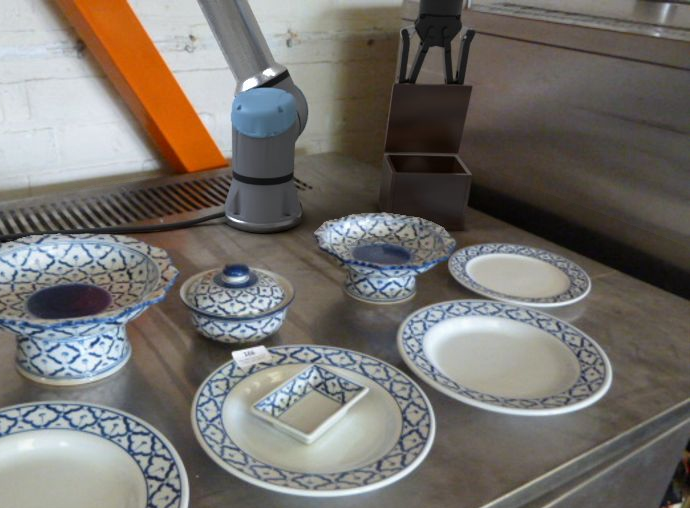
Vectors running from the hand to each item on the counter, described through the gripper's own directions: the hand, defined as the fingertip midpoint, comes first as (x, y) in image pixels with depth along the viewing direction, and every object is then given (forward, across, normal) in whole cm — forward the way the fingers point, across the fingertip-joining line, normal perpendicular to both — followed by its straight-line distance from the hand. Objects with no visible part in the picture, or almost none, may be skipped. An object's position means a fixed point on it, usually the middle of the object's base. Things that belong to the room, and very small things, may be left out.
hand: (424, 122), depth 129 cm
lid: (-1, 0, -2) cm, 3 cm away
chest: (+16, 0, -8) cm, 18 cm away
